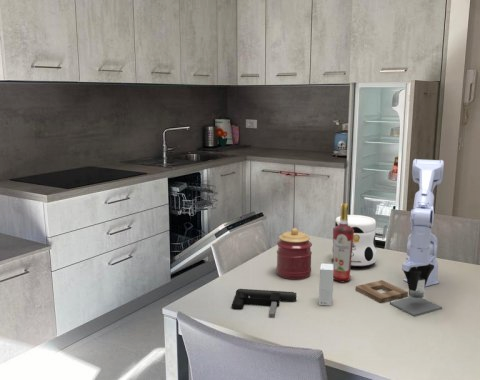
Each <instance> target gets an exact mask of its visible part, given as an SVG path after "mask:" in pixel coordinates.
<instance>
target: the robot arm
mask: <svg viewBox="0 0 480 380" xmlns="http://www.w3.org/2000/svg"><path fill="white" fill-rule="evenodd" d="M444 164H445V161H444V160H443V159H436V160H435V159H421V158H420V159H418V158H414V159H413V161H412V169H411V175H412V180H413V182H414V183H415V184H418V187H419V190H418V191H417V192H415V193H414V194H415V195H414V201H413V208H412V209H410V220H409V221H410V234H409V235H408V237H407V245H406V256H407V257H406V261H405V262H403V263H402V264H401V271H403V273H404V275H405V278H403V281H404V282H406V283H407V287H408V290H409V289H410V290H413V291H416V288H417V283H418V279H419V277H422V278H424V279H425V285H424V288H425V287H428V286H432V285H437V284H439V283H440V281H438V276H439V275H438V273H439V263H438V260H437V255H438V254H437V253H438V238H437V236H436V235H435V234H434V233H432V227H434V220H435V218H434V215H435V211H434V201H435V195H434V189H435V187H436V186H437V185H441V184H442V182H443V176H444V167H445V166H444Z"/></svg>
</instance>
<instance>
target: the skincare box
mask: <svg viewBox="0 0 480 380" xmlns="http://www.w3.org/2000/svg"><path fill="white" fill-rule="evenodd" d="M333 270H334V268H333V263H320V268H319V287H318V288H319V289H318V305H319V306H332V305H333V293H334V292H333V291H334V289H333V288H334V287H333V286H334V278H333Z"/></svg>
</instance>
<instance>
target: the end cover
mask: <svg viewBox="0 0 480 380" xmlns="http://www.w3.org/2000/svg"><path fill="white" fill-rule="evenodd" d="M424 285H425V279H424V278H422V277H419V279H418V283H417V288H416V291H413V290H410V289H409V288H408V296H409V297H414V298H423V299H424V296H425V287H424Z"/></svg>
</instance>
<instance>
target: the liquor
mask: <svg viewBox="0 0 480 380" xmlns="http://www.w3.org/2000/svg"><path fill="white" fill-rule="evenodd" d="M348 212H349V203H346V202H345V203H344V202H343V203H340V215H339V216H340V224H339V225H338V226H336V227H335V226H334V227H333V228H332V247H333V255H332V259H333V263H332V264H333V268H334V270H333V280H335V281H337V282H339V283H340V282H341V283H345V282H348V281H349V280H350V279H352V276H351V268H352V267H351V256H352V247H353V236H354V229H353V228H352V227H350V226H348V216H347V215H348Z"/></svg>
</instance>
